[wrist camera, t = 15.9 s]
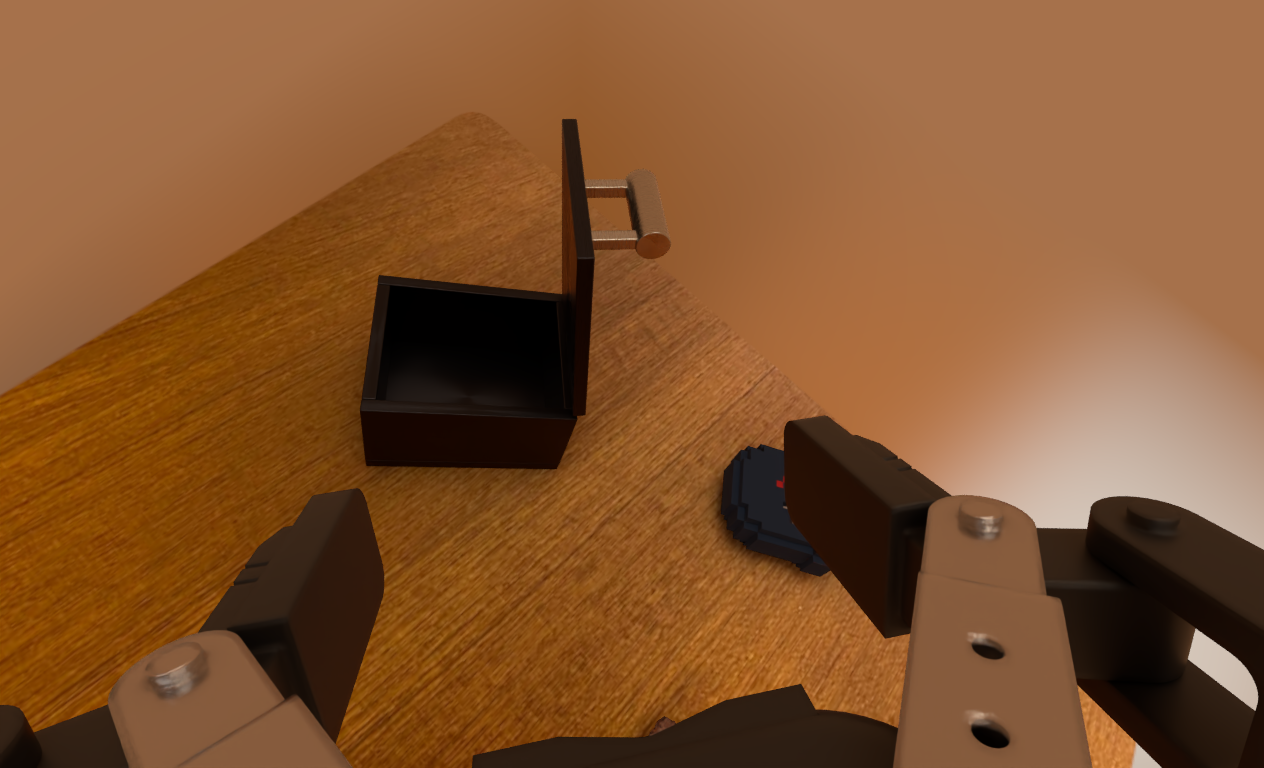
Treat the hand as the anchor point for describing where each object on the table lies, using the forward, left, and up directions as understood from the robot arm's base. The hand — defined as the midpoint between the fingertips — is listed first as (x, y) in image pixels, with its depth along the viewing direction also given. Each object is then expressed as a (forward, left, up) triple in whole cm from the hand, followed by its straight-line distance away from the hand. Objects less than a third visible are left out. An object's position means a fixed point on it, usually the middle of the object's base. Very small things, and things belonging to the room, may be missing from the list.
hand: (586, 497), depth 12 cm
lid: (-9, +19, -15) cm, 26 cm away
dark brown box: (-13, +16, -29) cm, 35 cm away
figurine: (+13, +24, -29) cm, 40 cm away
